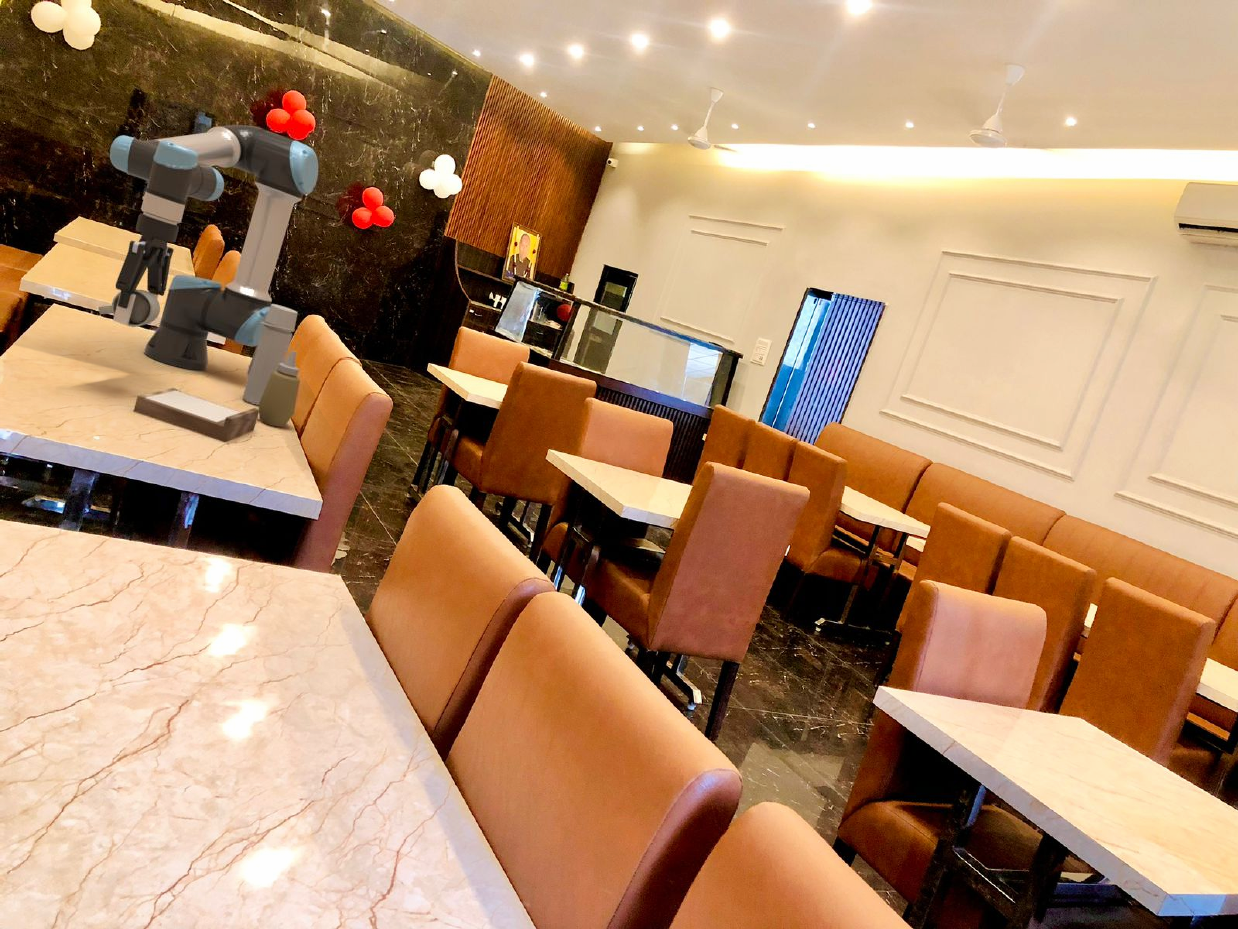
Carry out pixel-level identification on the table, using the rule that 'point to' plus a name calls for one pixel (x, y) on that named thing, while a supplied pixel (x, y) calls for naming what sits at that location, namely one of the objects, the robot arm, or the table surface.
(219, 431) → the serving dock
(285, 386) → the squeeze bottle
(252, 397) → the water bottle
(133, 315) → the ceramic mug
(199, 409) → the mat
